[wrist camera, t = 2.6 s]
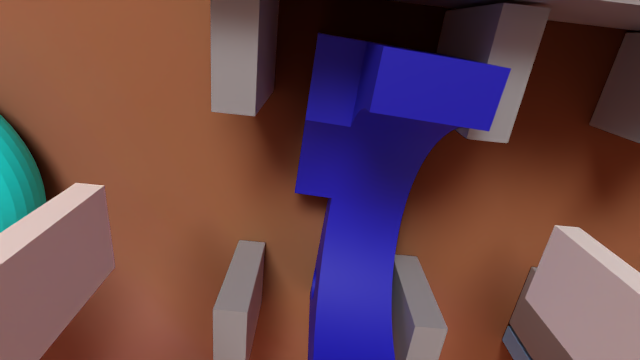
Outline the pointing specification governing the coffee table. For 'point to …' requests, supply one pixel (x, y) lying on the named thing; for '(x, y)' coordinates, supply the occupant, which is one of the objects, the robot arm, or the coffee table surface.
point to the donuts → (17, 178)
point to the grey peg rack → (477, 45)
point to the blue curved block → (375, 173)
